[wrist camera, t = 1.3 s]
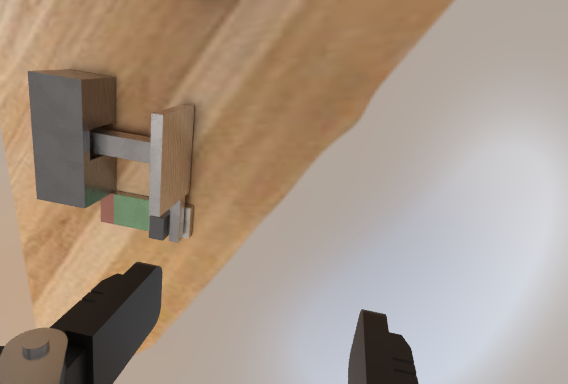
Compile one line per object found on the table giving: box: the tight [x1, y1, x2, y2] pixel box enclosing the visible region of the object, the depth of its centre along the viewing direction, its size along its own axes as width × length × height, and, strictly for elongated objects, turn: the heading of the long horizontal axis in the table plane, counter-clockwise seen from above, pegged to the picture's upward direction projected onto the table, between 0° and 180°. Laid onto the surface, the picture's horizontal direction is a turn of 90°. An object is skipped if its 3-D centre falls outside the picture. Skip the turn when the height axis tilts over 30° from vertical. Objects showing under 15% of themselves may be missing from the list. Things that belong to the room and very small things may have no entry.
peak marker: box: [149, 210, 170, 240], centre depth 42 cm, size 2×2×2 cm, turn 172°
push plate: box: [89, 104, 194, 243], centre depth 39 cm, size 14×11×7 cm
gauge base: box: [28, 69, 194, 239], centre depth 40 cm, size 16×14×6 cm
